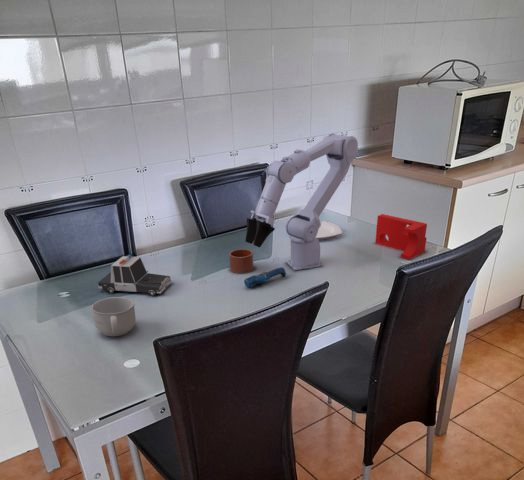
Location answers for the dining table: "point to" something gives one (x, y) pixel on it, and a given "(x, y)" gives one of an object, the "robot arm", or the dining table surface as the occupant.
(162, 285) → the toy car
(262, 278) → the figurine
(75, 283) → the dining table surface
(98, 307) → the teacup
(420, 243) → the bracket
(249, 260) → the cup
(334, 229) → the plate
